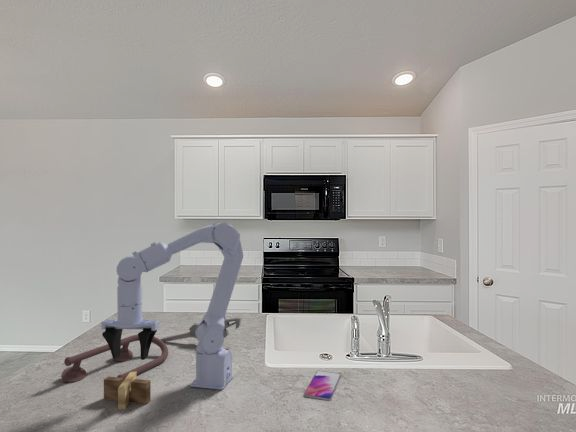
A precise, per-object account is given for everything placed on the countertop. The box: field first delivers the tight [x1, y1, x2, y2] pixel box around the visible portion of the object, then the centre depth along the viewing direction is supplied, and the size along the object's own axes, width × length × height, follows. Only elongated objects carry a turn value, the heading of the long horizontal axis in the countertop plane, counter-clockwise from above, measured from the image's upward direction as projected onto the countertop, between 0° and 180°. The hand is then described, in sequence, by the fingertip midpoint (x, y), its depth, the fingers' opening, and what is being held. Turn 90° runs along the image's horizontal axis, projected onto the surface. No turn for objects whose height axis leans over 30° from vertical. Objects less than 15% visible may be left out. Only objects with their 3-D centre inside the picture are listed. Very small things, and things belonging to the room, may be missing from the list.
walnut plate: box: [103, 376, 152, 405], centre depth 86 cm, size 12×2×5 cm, turn 78°
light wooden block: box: [117, 372, 138, 410], centre depth 86 cm, size 9×2×5 cm, turn 7°
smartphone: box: [303, 370, 342, 402], centre depth 93 cm, size 7×1×15 cm
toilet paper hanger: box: [60, 334, 169, 384], centre depth 105 cm, size 28×7×17 cm
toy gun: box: [159, 316, 242, 343], centre depth 126 cm, size 2×32×10 cm, turn 81°
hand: (130, 357), depth 88 cm, fingers open, 7 cm apart
